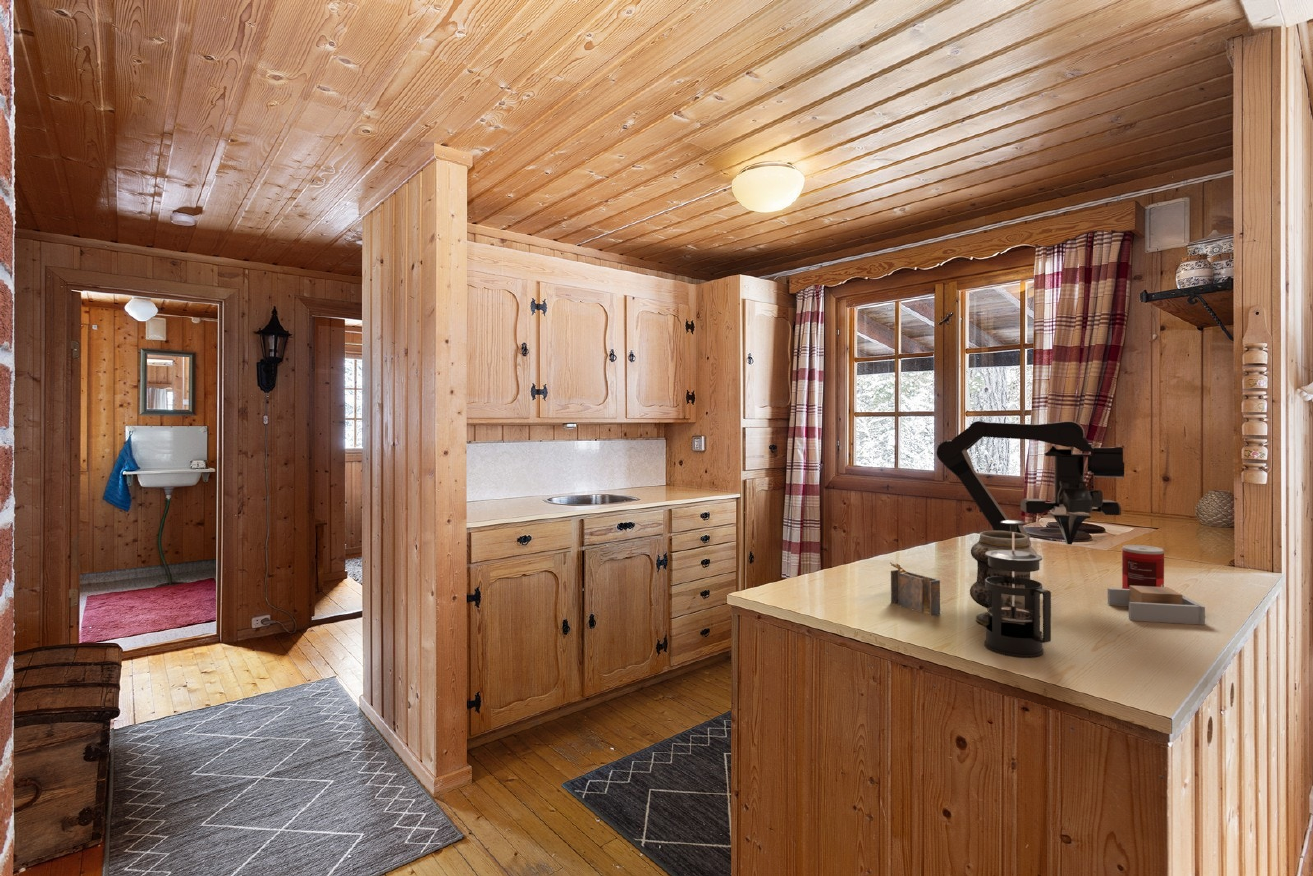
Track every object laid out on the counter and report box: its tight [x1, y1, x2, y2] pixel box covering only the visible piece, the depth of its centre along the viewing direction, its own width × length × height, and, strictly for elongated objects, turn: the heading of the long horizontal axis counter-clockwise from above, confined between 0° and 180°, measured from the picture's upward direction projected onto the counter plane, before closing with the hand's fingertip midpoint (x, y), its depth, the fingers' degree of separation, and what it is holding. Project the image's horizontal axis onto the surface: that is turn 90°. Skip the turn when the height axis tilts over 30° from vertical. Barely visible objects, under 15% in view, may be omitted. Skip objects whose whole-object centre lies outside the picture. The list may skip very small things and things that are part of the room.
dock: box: [1107, 587, 1206, 626], centre depth 135 cm, size 12×12×4 cm
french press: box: [983, 519, 1052, 659], centre depth 116 cm, size 12×9×23 cm
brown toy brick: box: [1129, 585, 1183, 605], centre depth 135 cm, size 7×7×5 cm
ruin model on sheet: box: [889, 562, 941, 617], centre depth 142 cm, size 11×3×10 cm, turn 25°
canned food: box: [1121, 544, 1165, 589], centre depth 148 cm, size 8×8×11 cm
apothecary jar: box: [969, 530, 1038, 627], centre depth 130 cm, size 12×12×18 cm
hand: (1069, 544), depth 148 cm, fingers closed
